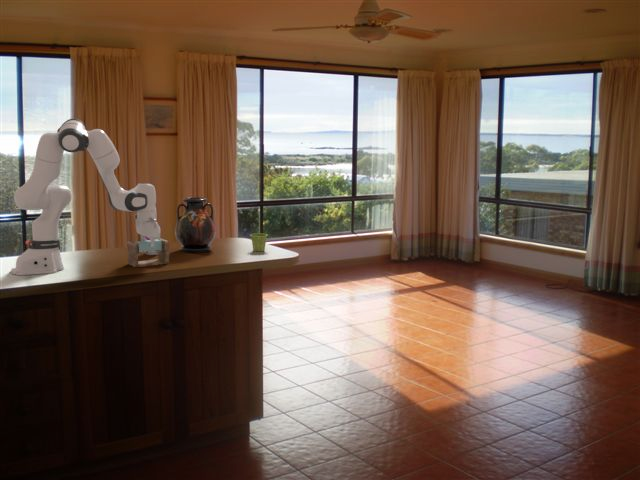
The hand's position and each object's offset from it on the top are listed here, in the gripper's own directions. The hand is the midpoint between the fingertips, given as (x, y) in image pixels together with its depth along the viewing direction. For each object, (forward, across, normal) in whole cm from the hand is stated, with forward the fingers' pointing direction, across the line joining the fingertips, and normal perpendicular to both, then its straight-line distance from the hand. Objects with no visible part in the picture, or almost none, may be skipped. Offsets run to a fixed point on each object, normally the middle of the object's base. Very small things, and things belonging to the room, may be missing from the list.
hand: (148, 245), depth 333 cm
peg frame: (+9, 0, 0) cm, 9 cm away
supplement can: (+9, +24, -12) cm, 28 cm away
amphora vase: (+9, +21, -35) cm, 42 cm away
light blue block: (+2, 0, 0) cm, 2 cm away
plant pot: (+9, +2, -63) cm, 64 cm away
